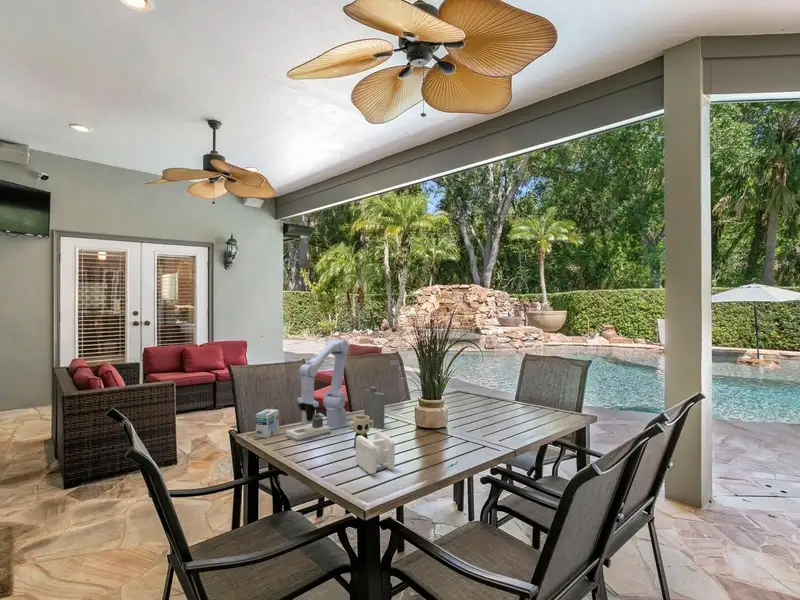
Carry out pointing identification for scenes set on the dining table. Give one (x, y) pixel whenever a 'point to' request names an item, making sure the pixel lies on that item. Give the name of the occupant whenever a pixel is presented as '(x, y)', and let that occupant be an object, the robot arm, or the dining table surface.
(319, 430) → the power strip
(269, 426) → the light bulb box
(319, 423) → the twin plug
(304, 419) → the plug
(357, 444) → the cable organizer
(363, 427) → the character mug
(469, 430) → the dining table surface
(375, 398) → the hip flask
